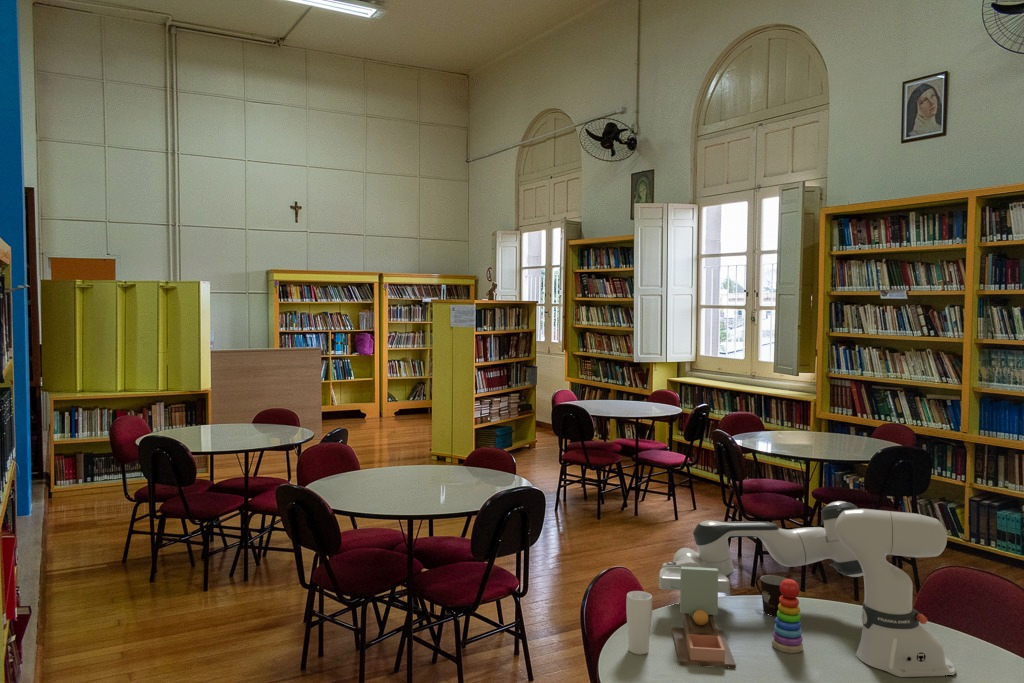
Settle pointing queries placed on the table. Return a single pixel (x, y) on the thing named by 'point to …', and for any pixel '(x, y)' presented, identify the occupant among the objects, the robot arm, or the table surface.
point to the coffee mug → (770, 592)
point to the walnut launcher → (694, 628)
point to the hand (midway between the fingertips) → (696, 591)
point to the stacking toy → (788, 619)
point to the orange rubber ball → (700, 617)
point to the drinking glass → (638, 621)
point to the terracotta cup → (705, 648)
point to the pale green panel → (699, 590)
